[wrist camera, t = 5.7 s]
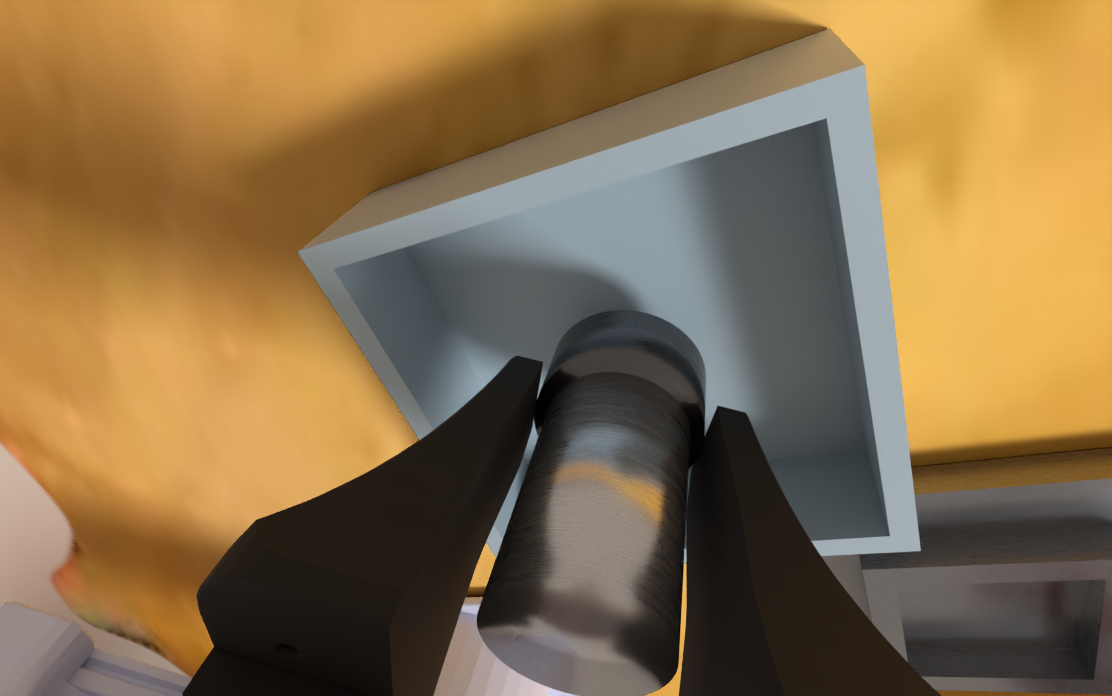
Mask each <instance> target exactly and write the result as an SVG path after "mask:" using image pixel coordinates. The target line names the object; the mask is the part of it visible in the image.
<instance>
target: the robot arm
mask: <svg viewBox="0 0 1112 696" xmlns="http://www.w3.org/2000/svg"><path fill="white" fill-rule="evenodd" d="M542 366H543V362H542V361H538V360H534V359H530V358H526V357H522V356H518V355H516V356H515V357H513V358H511V359H510V360H509V362H508V363H507V364H506V365H505V366H504V367H503V368H502V369H501V370H500V372H499V373H498V374H497V375H496V376H495V377H494V378H493V379H492V380H491V381H490V382H489V383H488V384H487V385H486V386H485V387H484V388H483V389H482V390H480V391H479V392H478V393H477V394H476V395H475V396H474V397H473V398H472V399H470V400H469V401H468V402H467V403H466V404H465V405H464V406H463V407H462V408H460V409H459V410H458V411H457V412H456V413H454V414H453V415H452V416H451V417H449V418H448V419H447V420H445V421H444V422H443V423H442V424H440V425H439V426H438V427H437V428H435V429H434V430H433V431H431V432H430V433H429V434H427V435H426V436H425V437H423V438H422V439H420V440H419V441H417V442H416V443H415V444H413V445H412V446H410V447H408V448H407V449H405V450H404V451H402V452H401V453H399V454H398V455H396V456H394V457H393V458H391V459H389V460H388V461H386V462H384V463H383V464H381V465H379V466H377V467H376V468H374V469H372V470H370V471H369V472H367V473H365V474H363V475H361V476H359V477H357V478H355V479H353V480H351V481H349V482H347V483H345V484H343V485H341V486H339V487H337V488H334V489H332V490H330V491H328V492H326V493H324V494H322V495H320V496H318V497H315V498H313V499H311V500H308V501H306V502H303V503H301V504H298V505H295V506H293V507H290V508H288V509H285V510H282V511H280V512H277V513H274V514H272V515H269V516H266V517H263V518H260V519H257V520H256V521H255V522H254V523H253V524H252V525H251V526H250V527H249V528H248V529H247V530H246V531H245V532H244V533H243V534H242V535H241V536H240V537H239V538H238V539H237V541H236V542H235V543H234V544H233V545H232V546H231V547H230V548H229V550H228V551H227V552H226V553H225V555H224V556H223V557H222V559H221V560H220V561H219V562H218V564H217V565H216V566H215V568H214V569H213V570H212V572H211V573H210V574H209V575H208V577H207V578H206V579H205V581H204V582H203V583H202V585H201V586H200V588H199V590H198V593H197V601H198V606H199V611H200V614H201V616H202V619H203V621H204V623H205V626H206V628H207V631H208V633H209V635H210V638H211V640H212V642H213V645H214V648H213V649H212V651H211V652H210V653H209V655H208V656H207V658H206V659H205V661H204V662H203V664H202V665H201V667H200V668H199V669H198V671H197V672H196V674H195V675H194V677H193V678H191V677H188V676H184V675H181V674H178V673H175V672H171V671H168V670H165V669H162V668H159V667H156V666H153V665H149V664H146V663H143V662H140V661H137V660H134V659H130V658H127V657H124V656H121V655H118V654H115V653H111V652H108V651H105V650H101V649H99V648H95V647H94V642H93V640H92V637H91V636H90V634H89V633H88V632H87V631H86V630H85V629H84V628H83V627H82V626H81V625H79V624H78V623H76V622H74V621H72V620H70V619H68V618H65V617H63V616H59V615H56V614H53V613H50V612H47V611H43V610H40V609H37V608H34V607H31V606H27V605H24V604H21V603H18V602H7V603H5V604H4V605H3V606H2V607H1V608H0V696H577V695H573V694H569V693H565V692H561V691H558V690H555V689H552V688H549V687H546V686H544V685H541V684H539V683H537V682H534V681H532V680H530V679H528V678H526V677H524V676H522V675H521V674H519V673H517V672H516V671H514V670H513V669H511V668H510V667H508V666H507V665H506V664H504V663H503V662H502V661H500V660H499V659H498V658H497V657H496V656H495V655H494V654H493V653H492V652H491V651H490V650H489V649H488V647H487V646H486V644H485V643H484V642H483V640H482V638H481V636H480V634H479V631H478V628H477V613H478V610H479V607H480V604H481V601H482V598H483V597H466V594H467V591H468V588H469V585H470V583H471V580H472V577H473V574H474V571H475V568H476V565H477V562H478V560H479V557H480V555H481V552H482V550H483V547H484V545H485V543H486V541H487V539H488V536H489V534H490V532H491V530H492V528H493V525H494V523H495V521H496V519H497V516H498V514H499V512H500V510H501V508H502V505H503V503H504V501H505V499H506V497H507V494H508V492H509V490H510V488H511V485H512V483H513V481H514V479H515V476H516V474H517V472H518V470H519V467H520V465H521V462H522V459H523V456H524V452H525V449H526V446H527V443H528V440H529V437H530V434H531V430H532V427H533V421H534V409H535V404H536V401H537V396H538V390H539V384H540V378H541V372H542ZM686 558H687V613H686V631H685V641H684V652H683V662H682V672H681V681H680V690H679V696H941V695H940V694H939V693H938V692H937V691H936V690H935V689H934V688H933V687H931V686H930V685H929V684H928V683H927V682H926V681H925V680H924V679H923V678H922V677H921V676H920V675H919V674H918V673H917V672H916V671H915V670H914V669H913V668H912V666H911V665H910V664H909V663H908V662H907V661H906V660H905V659H904V658H903V657H902V656H901V655H900V653H899V652H898V651H897V650H896V649H895V648H894V647H893V646H892V645H891V644H890V643H889V642H888V640H887V639H886V638H885V637H884V636H883V635H882V634H881V632H880V631H879V630H878V629H877V628H876V627H875V626H874V624H873V623H872V622H871V621H870V620H869V618H868V617H867V616H866V615H865V614H864V612H863V611H862V610H861V609H860V607H859V606H858V605H857V604H856V602H855V601H854V600H853V599H852V597H851V596H850V595H849V594H848V592H847V591H846V590H845V589H844V587H843V586H842V585H841V583H840V582H839V581H838V579H837V578H836V577H835V575H834V574H833V573H832V571H831V570H830V568H829V567H828V565H827V564H826V562H825V561H824V560H823V558H822V557H821V555H820V554H819V552H818V551H817V549H816V548H815V546H814V545H813V543H812V541H811V540H810V538H809V537H808V535H807V533H806V532H805V530H804V528H803V527H802V525H801V523H800V522H799V520H798V518H797V516H796V515H795V513H794V511H793V509H792V508H791V506H790V504H789V502H788V500H787V498H786V496H785V494H784V493H783V491H782V489H781V487H780V485H779V483H778V481H777V479H776V477H775V475H774V473H773V471H772V469H771V467H770V465H769V462H768V460H767V458H766V456H765V454H764V452H763V449H762V447H761V445H760V443H759V440H758V438H757V436H756V433H755V431H754V429H753V426H752V424H751V421H750V419H749V417H748V415H747V414H746V412H742V411H738V410H734V409H730V408H726V407H722V406H717V408H716V411H715V413H714V416H713V418H712V420H711V423H710V425H709V428H708V430H707V433H706V435H705V437H704V444H703V447H702V450H701V452H700V455H699V457H698V458H697V460H696V461H695V463H694V464H693V466H692V469H691V477H690V484H689V492H688V501H687V510H686Z"/></svg>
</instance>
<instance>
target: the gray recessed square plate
mask: <svg viewBox="0 0 1112 696" xmlns="http://www.w3.org/2000/svg"><path fill="white" fill-rule="evenodd" d="M911 470H912V478H913V487H914V496H915V504H916V513H917V521H918V530H919V539H920V547H921V551H912V552H892V553H872V554H853V555H833V556H821V557H822V558H823V560H824V561H825V562H826V564H827V565H828V567H829V568H830V570H831V571H832V573H833V574H834V575H835V577H836V578H837V579H838V581H839V582H840V583H841V585H842V586H843V587H844V589H845V590H846V591H847V592H848V594H849V595H850V596H851V597H852V599H853V600H854V601H855V602H856V604H857V605H858V606H859V607H860V609H861V610H862V611H863V612H864V614H865V615H866V616H867V617H868V618H869V620H870V621H871V622H872V623H873V624H874V626H875V627H876V628H877V629H878V630H879V631H880V632H881V634H882V635H883V636H884V637H885V638H886V639H887V640H888V642H889V643H890V644H891V645H892V646H893V647H894V648H895V649H896V650H897V651H898V652H899V653H900V655H901V656H902V657H903V658H904V659H905V660H906V661H907V662H908V663H909V664H910V665H911V666H912V668H913V669H914V670H915V671H916V672H917V673H918V674H919V675H920V676H921V677H922V678H923V679H924V680H925V681H926V682H927V683H928V684H929V685H930V686H931V687H933V688H934V689H935V690H954V691H993V692H1032V693H1070V694H1109V695H1112V448H1105V449H1094V450H1084V451H1074V452H1064V453H1053V454H1043V455H1033V456H1023V457H1012V458H1002V459H992V460H982V461H971V462H961V463H951V464H941V465H930V466H920V467H911Z"/></svg>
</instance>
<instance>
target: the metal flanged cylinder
mask: <svg viewBox="0 0 1112 696" xmlns="http://www.w3.org/2000/svg"><path fill="white" fill-rule="evenodd" d="M705 403H706V370H705V365H704V361H703V358H702V356H701V354H700V352H699V350H698V348H697V347H696V345H695V344H694V342H693V341H692V340H691V339H690V338H689V337H688V336H687V335H686V334H685V333H684V332H683V331H682V330H680V329H679V328H678V327H676V326H675V325H673V324H672V323H670V322H668V321H666V320H664V319H662V318H660V317H657V316H654V315H652V314H648V313H644V312H639V311H632V310H613V311H606V312H601V313H597V314H594V315H591V316H589V317H587V318H585V319H583V320H581V321H579V322H578V323H576V324H575V325H573V326H572V327H571V328H570V329H569V330H568V331H567V332H566V333H565V334H564V336H563V337H562V338H561V340H560V342H559V343H558V345H557V348H556V350H555V353H554V356H553V358H552V361H551V364H550V366H549V369H548V372H547V374H546V377H545V380H544V382H543V385H542V388H541V390H540V393H539V396H538V398H537V401H536V404H535V409H534V423H535V429H536V432H537V435H538V439H537V442H536V445H535V448H534V451H533V453H532V456H531V459H530V462H529V465H528V468H527V471H526V474H525V477H524V479H523V482H522V485H521V488H520V491H519V494H518V497H517V500H516V503H515V505H514V508H513V511H512V514H511V517H510V520H509V523H508V526H507V529H506V531H505V534H504V537H503V540H502V543H501V546H500V549H499V552H498V555H497V558H496V560H495V563H494V566H493V569H492V572H491V575H490V578H489V581H488V584H487V586H486V589H485V592H484V595H483V598H482V601H481V604H480V607H479V610H478V613H477V628H478V631H479V634H480V636H481V638H482V640H483V642H484V643H485V644H486V646H487V647H488V649H489V650H490V651H491V652H492V653H493V654H494V655H495V656H496V657H497V658H498V659H499V660H500V661H502V662H503V663H504V664H506V665H507V666H508V667H510V668H511V669H513V670H514V671H516V672H517V673H519V674H521V675H522V676H524V677H526V678H528V679H530V680H532V681H534V682H537V683H539V684H541V685H544V686H546V687H549V688H552V689H555V690H558V691H561V692H565V693H569V694H573V695H577V696H644V695H647V694H650V693H653V692H655V691H657V690H659V689H661V688H662V687H664V686H665V685H666V684H668V683H669V682H670V681H671V680H672V679H673V677H674V675H675V674H676V672H677V668H678V663H679V644H680V624H681V605H682V586H683V567H684V548H685V528H686V509H687V490H688V471H689V468H690V467H691V466H692V465H693V464H694V463H695V461H696V460H697V458H698V457H699V455H700V452H701V450H702V447H703V444H704V437H705Z"/></svg>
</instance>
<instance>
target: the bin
mask: <svg viewBox="0 0 1112 696" xmlns="http://www.w3.org/2000/svg"><path fill="white" fill-rule="evenodd" d="M298 254H299V255H300V257H301V258H302V260H303V261H304V263H305V265H306V266H307V268H308V269H309V271H310V272H311V274H312V275H313V277H314V278H315V280H316V281H317V283H318V285H319V286H320V288H321V289H322V291H323V292H324V294H325V295H326V297H327V298H328V300H329V301H330V303H331V305H332V306H333V308H334V309H335V311H336V312H337V314H338V315H339V317H340V318H341V320H342V321H343V323H344V325H345V326H346V328H347V329H348V331H349V332H350V334H351V335H352V337H353V338H354V340H355V342H356V343H357V345H358V346H359V348H360V349H361V351H362V352H363V354H364V355H365V357H366V358H367V360H368V362H369V363H370V365H371V366H372V368H373V369H374V371H375V372H376V374H377V375H378V377H379V378H380V380H381V382H382V383H383V385H384V386H385V388H386V389H387V391H388V392H389V394H390V395H391V397H392V398H393V400H394V402H395V403H396V405H397V406H398V408H399V409H400V411H401V412H402V414H403V415H404V417H405V418H406V420H407V422H408V423H409V425H410V426H411V428H412V429H413V431H414V432H415V434H416V435H417V437H418V438H419V440H420V439H422V438H423V437H425V436H426V435H427V434H429V433H430V432H431V431H433V430H434V429H435V428H437V427H438V426H439V425H440V424H442V423H443V422H444V421H445V420H447V419H448V418H449V417H451V416H452V415H453V414H454V413H456V412H457V411H458V410H459V409H460V408H462V407H463V406H464V405H465V404H466V403H467V402H468V401H469V400H470V399H472V398H473V397H474V396H475V395H476V394H477V393H478V392H479V391H480V390H482V389H483V388H484V387H485V386H486V385H487V384H488V383H489V382H490V381H491V380H492V379H493V378H494V377H495V376H496V375H497V374H498V373H499V372H500V370H501V369H502V368H503V367H504V366H505V365H506V364H507V363H508V362H509V360H510V359H511V358H513V357H515V356H516V355H518V356H522V357H526V358H530V359H534V360H538V361H542V362H543V366H542V372H541V378H540V384H539V390H538V396H539V393H540V390H541V388H542V385H543V382H544V380H545V377H546V374H547V372H548V369H549V366H550V364H551V361H552V358H553V356H554V353H555V350H556V348H557V345H558V343H559V342H560V340H561V338H562V337H563V336H564V334H565V333H566V332H567V331H568V330H569V329H570V328H571V327H572V326H573V325H575V324H576V323H578V322H579V321H581V320H583V319H585V318H587V317H589V316H591V315H594V314H597V313H601V312H606V311H613V310H632V311H639V312H644V313H648V314H652V315H654V316H657V317H660V318H662V319H664V320H666V321H668V322H670V323H672V324H673V325H675V326H676V327H678V328H679V329H680V330H682V331H683V332H684V333H685V334H686V335H687V336H688V337H689V338H690V339H691V340H692V341H693V342H694V344H695V345H696V347H697V348H698V350H699V352H700V354H701V356H702V358H703V361H704V365H705V370H706V403H705V435H706V433H707V430H708V428H709V425H710V423H711V420H712V418H713V416H714V413H715V411H716V408H717V406H722V407H726V408H730V409H734V410H738V411H742V412H746V414H747V415H748V417H749V419H750V421H751V424H752V426H753V429H754V431H755V433H756V436H757V438H758V440H759V443H760V445H761V447H762V449H763V452H764V454H765V456H766V458H767V460H768V462H769V465H770V467H771V469H772V471H773V473H774V475H775V477H776V479H777V481H778V483H779V485H780V487H781V489H782V491H783V493H784V494H785V496H786V498H787V500H788V502H789V504H790V506H791V508H792V509H793V511H794V513H795V515H796V516H797V518H798V520H799V522H800V523H801V525H802V527H803V528H804V530H805V532H806V533H807V535H808V537H809V538H810V540H811V541H812V543H813V545H814V546H815V548H816V549H817V551H818V552H819V554H820V555H821V556H833V555H853V554H872V553H892V552H912V551H921V547H920V539H919V530H918V521H917V513H916V504H915V496H914V487H913V478H912V470H911V461H910V452H909V444H908V435H907V426H906V418H905V409H904V401H903V392H902V383H901V375H900V366H899V357H898V349H897V340H896V332H895V323H894V314H893V306H892V297H891V288H890V280H889V271H888V262H887V254H886V245H885V237H884V228H883V219H882V211H881V202H880V193H879V185H878V176H877V168H876V159H875V150H874V142H873V133H872V124H871V116H870V107H869V98H868V90H867V81H866V73H865V65H864V64H863V62H862V61H861V60H860V59H859V58H858V57H857V56H856V55H855V54H854V53H853V52H852V51H851V50H850V49H849V48H848V47H847V46H846V45H845V44H844V42H843V41H842V40H841V39H840V38H839V37H838V36H837V35H836V34H835V33H834V32H833V31H832V30H831V29H830V28H829V29H827V30H824V31H821V32H818V33H815V34H813V35H810V36H807V37H804V38H801V39H799V40H796V41H793V42H790V43H787V44H785V45H782V46H779V47H776V48H774V49H771V50H768V51H765V52H762V53H760V54H757V55H754V56H751V57H748V58H746V59H743V60H740V61H737V62H734V63H732V64H729V65H726V66H723V67H720V68H718V69H715V70H712V71H709V72H706V73H704V74H701V75H698V76H695V77H692V78H690V79H687V80H684V81H681V82H678V83H676V84H673V85H670V86H667V87H665V88H662V89H659V90H656V91H653V92H651V93H648V94H645V95H642V96H639V97H637V98H634V99H631V100H628V101H625V102H623V103H620V104H617V105H614V106H611V107H609V108H606V109H603V110H600V111H597V112H595V113H592V114H589V115H586V116H583V117H581V118H578V119H575V120H572V121H569V122H567V123H564V124H561V125H558V126H555V127H553V128H550V129H547V130H544V131H542V132H539V133H536V134H533V135H530V136H528V137H525V138H522V139H519V140H516V141H514V142H511V143H508V144H505V145H502V146H500V147H497V148H494V149H491V150H488V151H486V152H483V153H480V154H477V155H474V156H472V157H469V158H466V159H463V160H460V161H458V162H455V163H452V164H449V165H446V166H444V167H441V168H438V169H435V170H433V171H430V172H427V173H424V174H421V175H419V176H416V177H413V178H410V179H407V180H405V181H402V182H399V183H396V184H393V185H391V186H388V187H385V188H382V189H379V190H377V191H374V192H371V193H370V194H368V195H367V196H366V197H365V198H363V199H362V200H361V201H360V202H359V203H357V204H356V205H355V206H354V207H352V208H351V209H350V210H349V211H347V212H346V213H345V214H344V215H342V216H341V217H340V218H339V219H337V220H336V221H335V222H334V223H332V224H331V225H330V226H329V227H327V228H326V229H325V230H324V231H323V232H321V233H320V234H319V235H318V236H316V237H315V238H314V239H313V240H311V241H310V242H309V243H308V244H306V245H305V246H304V247H303V248H301V249H300V250H299V251H298ZM538 396H537V398H538ZM537 439H538V435H537V432H536V429H535V423H534V421H533V427H532V430H531V434H530V437H529V440H528V443H527V446H526V449H525V452H524V456H523V459H522V462H521V465H520V467H519V470H518V472H517V474H516V476H515V479H514V481H513V483H512V485H511V488H510V490H509V492H508V494H507V497H506V499H505V501H504V503H503V505H502V508H501V510H500V512H499V514H498V516H497V519H496V521H495V523H494V525H493V528H492V530H491V532H490V534H489V536H488V539H487V541H486V543H487V545H488V546H489V548H490V549H491V551H492V552H493V554H494V555H495V557H496V558H497V555H498V552H499V549H500V546H501V543H502V540H503V537H504V534H505V531H506V529H507V526H508V523H509V520H510V517H511V514H512V511H513V508H514V505H515V503H516V500H517V497H518V494H519V491H520V488H521V485H522V482H523V479H524V477H525V474H526V471H527V468H528V465H529V462H530V459H531V456H532V453H533V451H534V448H535V445H536V442H537ZM692 466H693V465H692ZM692 466H691V467H690V468H689V471H688V490H687V501H688V492H689V484H690V477H691V469H692ZM686 510H687V509H686ZM684 563H687V558H686V528H685V548H684Z"/></svg>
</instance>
